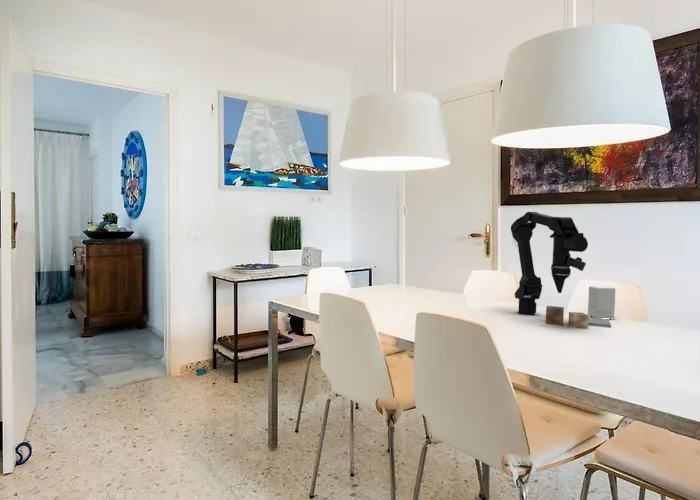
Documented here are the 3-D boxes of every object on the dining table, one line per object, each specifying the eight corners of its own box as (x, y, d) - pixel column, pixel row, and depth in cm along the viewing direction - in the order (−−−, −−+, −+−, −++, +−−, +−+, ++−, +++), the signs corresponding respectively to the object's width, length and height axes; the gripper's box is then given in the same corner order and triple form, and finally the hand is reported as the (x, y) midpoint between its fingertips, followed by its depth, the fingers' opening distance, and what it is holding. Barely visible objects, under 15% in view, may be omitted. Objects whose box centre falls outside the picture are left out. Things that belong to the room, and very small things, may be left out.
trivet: (574, 324, 176) (574, 321, 176) (573, 318, 187) (574, 316, 187) (610, 327, 171) (611, 324, 171) (607, 321, 182) (608, 319, 182)
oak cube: (573, 328, 169) (574, 314, 168) (568, 325, 174) (568, 312, 173) (587, 328, 168) (588, 315, 168) (582, 325, 173) (582, 312, 173)
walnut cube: (545, 323, 175) (546, 308, 175) (546, 321, 181) (546, 305, 181) (563, 325, 173) (563, 309, 173) (563, 322, 178) (563, 307, 178)
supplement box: (614, 319, 186) (616, 288, 185) (596, 319, 186) (597, 287, 186) (605, 316, 193) (606, 285, 193) (587, 315, 194) (588, 285, 193)
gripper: (587, 252, 164) (585, 296, 165) (583, 250, 181) (581, 289, 182) (552, 251, 168) (550, 293, 169) (551, 249, 186) (550, 287, 187)
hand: (559, 291), depth 177 cm, fingers open, 9 cm apart
